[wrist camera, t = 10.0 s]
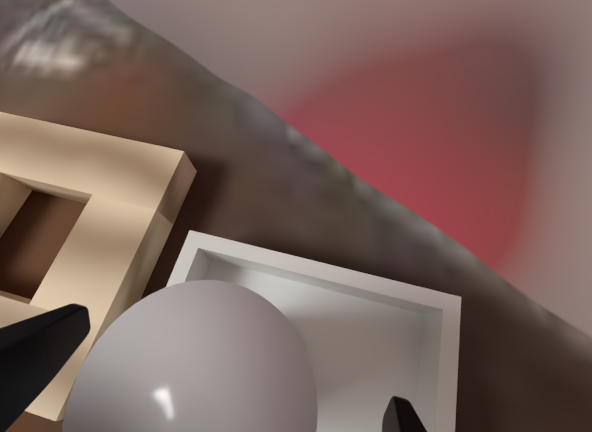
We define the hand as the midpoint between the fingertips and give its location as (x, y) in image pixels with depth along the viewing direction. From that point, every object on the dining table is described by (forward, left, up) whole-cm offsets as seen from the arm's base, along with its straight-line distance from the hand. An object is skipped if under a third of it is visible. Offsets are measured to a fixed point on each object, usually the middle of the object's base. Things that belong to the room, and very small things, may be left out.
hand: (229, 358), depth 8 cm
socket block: (-2, +16, -9) cm, 18 cm away
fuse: (-1, 0, -8) cm, 8 cm away
